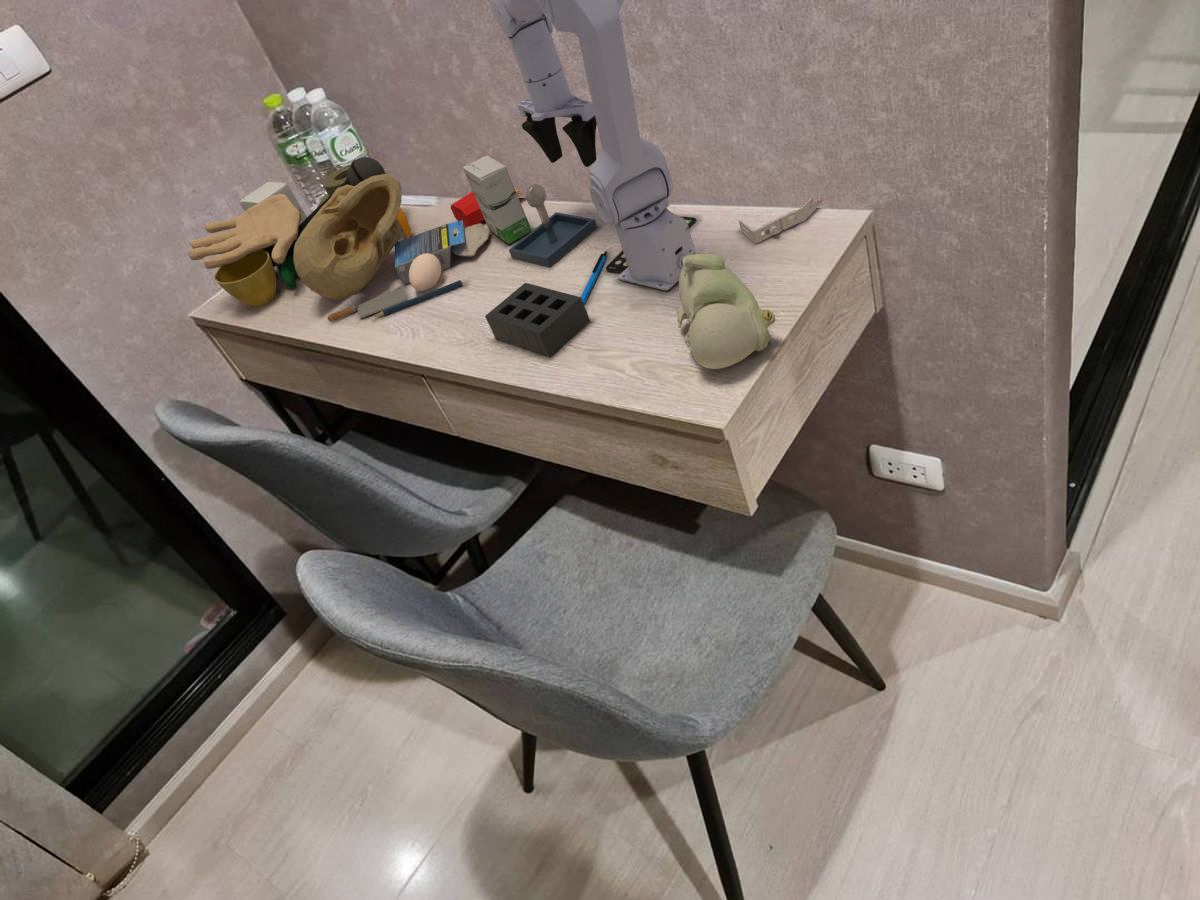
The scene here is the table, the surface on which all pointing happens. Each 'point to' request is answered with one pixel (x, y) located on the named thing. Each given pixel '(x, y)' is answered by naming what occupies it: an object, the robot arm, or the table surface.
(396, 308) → the pencil
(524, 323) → the rack
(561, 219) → the tray
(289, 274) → the gaming controller
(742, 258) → the table surface
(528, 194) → the spoon
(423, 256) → the egg
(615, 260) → the smartphone
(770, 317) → the figurine
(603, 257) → the pen
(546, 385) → the table surface
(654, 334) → the table surface
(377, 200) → the ear model
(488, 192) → the ink box
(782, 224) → the bracket
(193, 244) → the hand model
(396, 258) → the label tape box
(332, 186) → the flange
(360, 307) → the cleaver
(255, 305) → the flower pot
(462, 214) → the french fries
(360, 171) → the microphone
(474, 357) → the table surface
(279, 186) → the white packaging box
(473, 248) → the artifact
